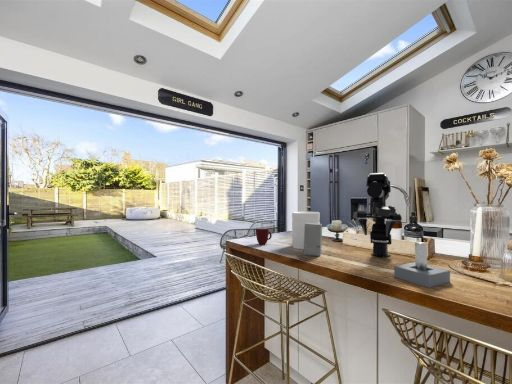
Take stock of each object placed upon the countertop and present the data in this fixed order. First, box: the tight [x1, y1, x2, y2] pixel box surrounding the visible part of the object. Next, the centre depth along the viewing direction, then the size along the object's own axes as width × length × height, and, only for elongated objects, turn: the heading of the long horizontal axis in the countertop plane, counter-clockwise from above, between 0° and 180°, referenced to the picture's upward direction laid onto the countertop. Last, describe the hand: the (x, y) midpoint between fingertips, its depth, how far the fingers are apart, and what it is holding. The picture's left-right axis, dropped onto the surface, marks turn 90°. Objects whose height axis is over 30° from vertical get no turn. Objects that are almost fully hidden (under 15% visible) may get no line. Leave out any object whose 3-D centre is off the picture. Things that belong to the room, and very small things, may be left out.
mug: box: [255, 226, 272, 246], centre depth 152 cm, size 10×8×10 cm
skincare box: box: [303, 223, 323, 257], centre depth 126 cm, size 8×7×16 cm
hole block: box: [393, 261, 451, 289], centre depth 88 cm, size 12×12×4 cm
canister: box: [291, 211, 321, 250], centre depth 145 cm, size 16×16×20 cm
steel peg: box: [414, 241, 428, 271], centre depth 88 cm, size 4×4×13 cm
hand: (376, 236), depth 108 cm, fingers open, 9 cm apart
